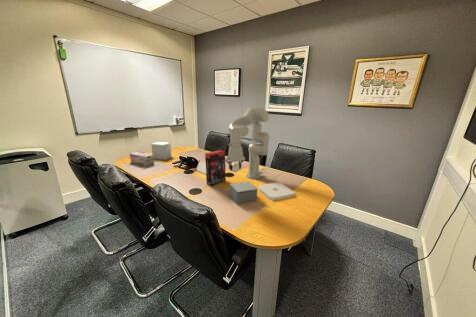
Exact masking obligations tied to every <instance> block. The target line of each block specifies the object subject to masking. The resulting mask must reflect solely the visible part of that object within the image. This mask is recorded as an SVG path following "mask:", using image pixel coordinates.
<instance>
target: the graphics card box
mask: <svg viewBox="0 0 476 317" xmlns="http://www.w3.org/2000/svg"><path fill="white" fill-rule="evenodd" d="M204 155H205V157H204V158H205V178H206V185H208V186H211V187H213V186H214V185H217V184H220V183H222V182H225V181H226V161H225V159H226V151H225V150H222V149H219V150H215V151H209V152H207V153H206V152H205V154H204Z"/></svg>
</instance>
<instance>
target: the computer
mask: <svg viewBox="0 0 476 317" xmlns="http://www.w3.org/2000/svg"><path fill="white" fill-rule="evenodd" d="M257 191H259V192H261V194H262V195H264V196H265V197H266V198H267V199H268V200H270V201H278V200H282V199H287V198H292V197H294V195H295V192H294V191H293V190H292V189H291V188H289V187H287V185H285V184H283V183H282V182H271V183H266V184H261V185H258V188H257Z"/></svg>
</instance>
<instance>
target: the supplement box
mask: <svg viewBox="0 0 476 317" xmlns="http://www.w3.org/2000/svg"><path fill="white" fill-rule="evenodd" d="M150 146H151V155H153V158H154V160H155V159H156V160H165V161H166V160H168V159H171V158H172V148H171V142H169V141H168V142H167V141H164V142H163V141H156V142H153V143H151V145H150Z"/></svg>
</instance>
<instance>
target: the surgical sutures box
mask: <svg viewBox="0 0 476 317" xmlns="http://www.w3.org/2000/svg"><path fill="white" fill-rule="evenodd" d="M129 158H130V163H131V164H135V165H138V166H140V165H141V167H144V168H146V166H147V167H150V166H153V165H155V159H154V158H153V155H152V153H146V152H143V151H136V152H129Z"/></svg>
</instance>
